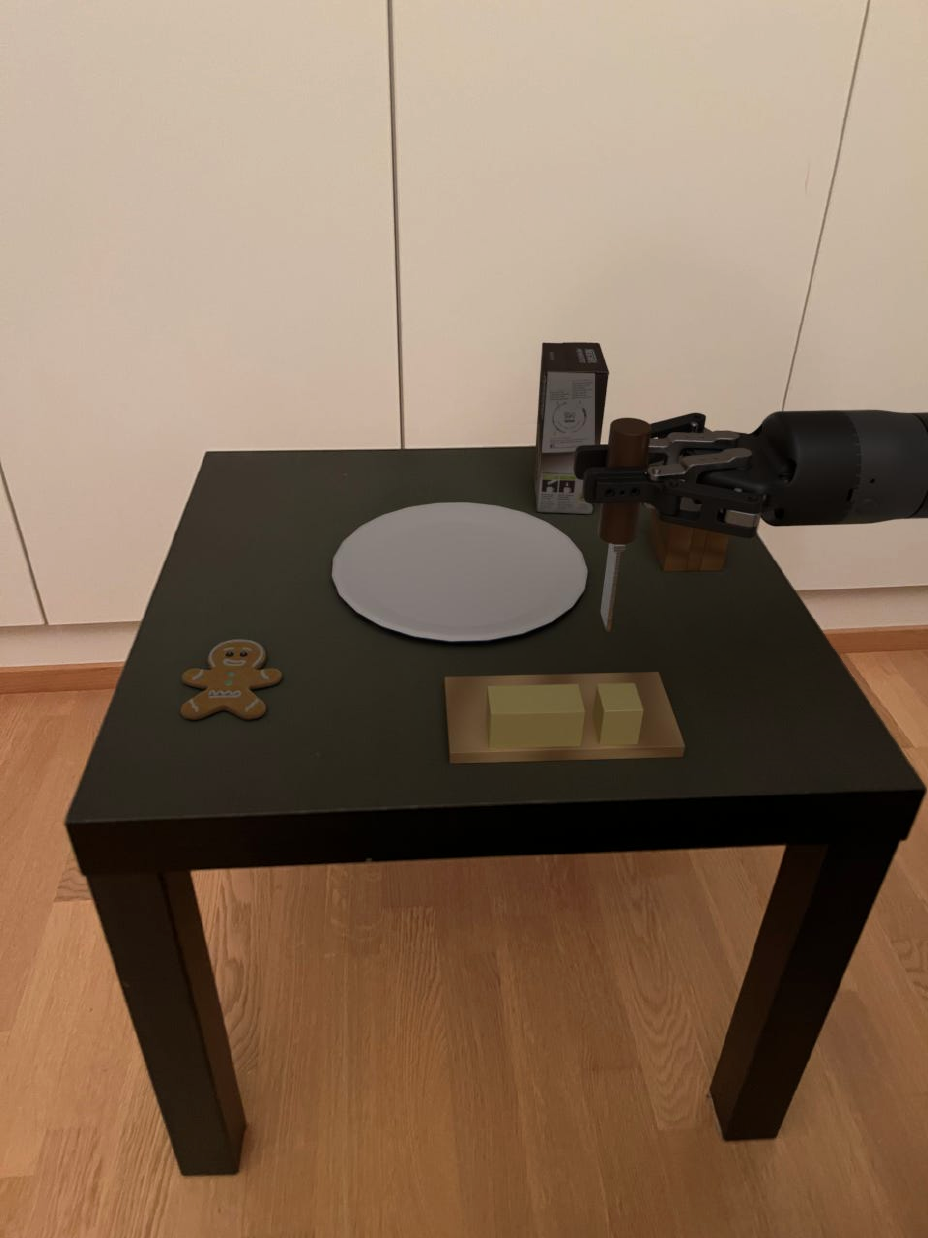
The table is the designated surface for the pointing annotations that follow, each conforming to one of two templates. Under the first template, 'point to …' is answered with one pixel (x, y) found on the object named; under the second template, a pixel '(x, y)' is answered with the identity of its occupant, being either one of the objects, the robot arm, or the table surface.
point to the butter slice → (617, 713)
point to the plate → (459, 572)
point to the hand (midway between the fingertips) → (580, 474)
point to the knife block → (686, 546)
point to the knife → (621, 518)
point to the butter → (534, 716)
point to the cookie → (230, 681)
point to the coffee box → (567, 421)
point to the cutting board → (654, 738)
